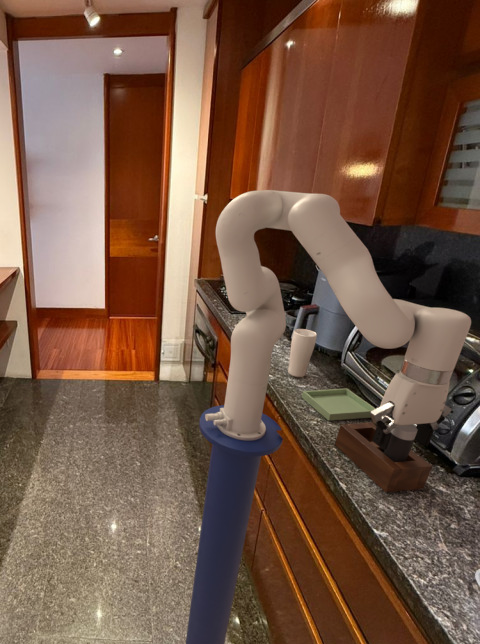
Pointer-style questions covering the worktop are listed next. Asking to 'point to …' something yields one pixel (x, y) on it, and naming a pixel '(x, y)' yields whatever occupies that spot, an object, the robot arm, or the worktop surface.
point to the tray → (338, 404)
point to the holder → (381, 459)
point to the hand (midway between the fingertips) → (399, 443)
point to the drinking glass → (301, 351)
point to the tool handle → (400, 442)
